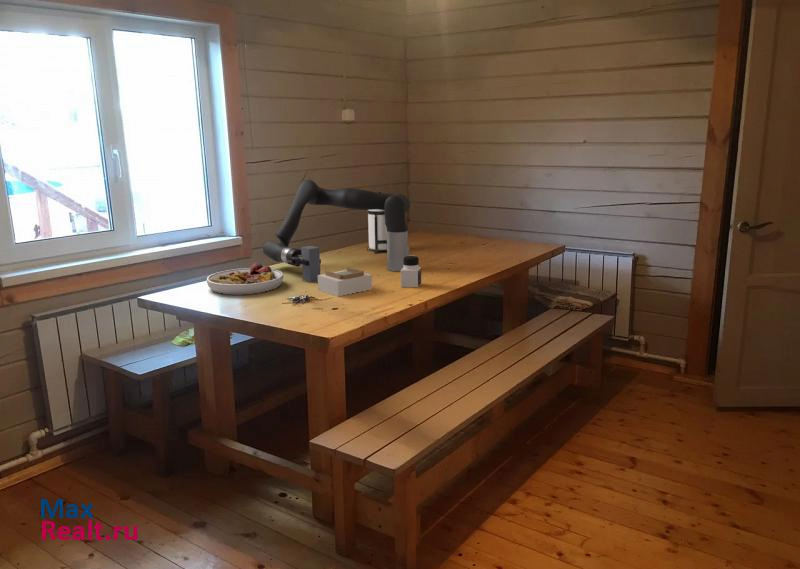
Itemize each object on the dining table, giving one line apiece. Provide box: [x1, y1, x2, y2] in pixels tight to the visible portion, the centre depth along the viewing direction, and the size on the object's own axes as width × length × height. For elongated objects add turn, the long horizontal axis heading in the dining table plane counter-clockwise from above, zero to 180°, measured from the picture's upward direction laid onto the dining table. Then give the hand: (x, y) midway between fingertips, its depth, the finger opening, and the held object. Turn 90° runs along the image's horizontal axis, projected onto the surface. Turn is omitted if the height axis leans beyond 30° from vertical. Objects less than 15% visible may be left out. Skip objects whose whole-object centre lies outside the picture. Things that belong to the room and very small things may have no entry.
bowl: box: [206, 262, 284, 296], centre depth 270 cm, size 30×30×8 cm
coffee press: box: [366, 191, 387, 254], centre depth 337 cm, size 17×16×30 cm
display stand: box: [317, 266, 373, 298], centre depth 263 cm, size 16×14×8 cm
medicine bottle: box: [400, 254, 422, 288], centre depth 268 cm, size 7×7×12 cm
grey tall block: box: [300, 245, 321, 283], centre depth 279 cm, size 5×6×14 cm
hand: (314, 262), depth 277 cm, fingers closed on grey tall block, 5 cm apart
